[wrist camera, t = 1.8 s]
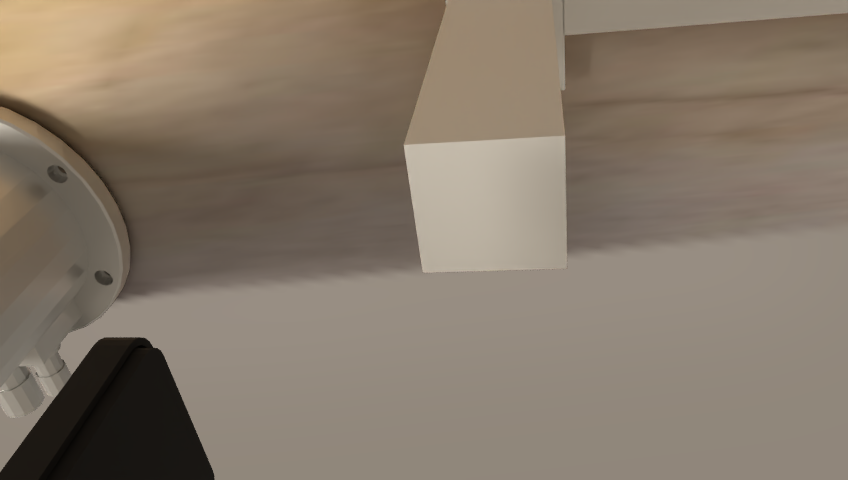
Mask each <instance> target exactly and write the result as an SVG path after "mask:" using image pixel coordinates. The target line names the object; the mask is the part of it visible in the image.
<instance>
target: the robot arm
mask: <svg viewBox="0 0 848 480" xmlns="http://www.w3.org/2000/svg"><path fill="white" fill-rule="evenodd" d="M129 269H130V244H129V239H128V233H127V228H126V225H125V223H124V221H123V218H122V216H121V213H120V211H119V208H118V206H117V204H116V202H115V201H114V199H113V197H112V196H111V194H110V193H109V191H108V189H107V188H106V186H105V185H104V183H103V182H102V180H101V179H100V178H99V177H98V176H97V175H96V173H95V172H94V171H93V170H92V169H91V167H90V166H89V165H88V164H87V163H86V162H85V160H84V159H82V158H81V157H80V156H79V155H78V154H77V153H76V152H75V151H73V150H72V149H71V148H70V147H69V146H68V145H67V144H66V143H64V142H63V141H62V140H61V139H59V138H58V137H56V136H55V135H54V134H52V133H51V132H49V131H48V130H46V129H45V128H43V127H42V126H40V125H39V124H37V123H36V122H34V121H32V120H30V119H28V118H26V117H24V116H22V115H20V114H18V113H16V112H14V111H12V110H10V109H7V108H4V107H1V106H0V406H1V407H2V409H3V411H4V412H5V414H6V415H7V416H8V417H13V418H18V417H21V416H26V415H27V414H29V413H31V412H33V411H35V410H36V409H37V408H38V407H39V406H40V405H41V404H42V402H43V400H44V398H45V397H44V394H43V391H42V390H41V388H40V386H39V384H38V383H37V381H36V379H35V377H34V375H33V374H32V372H31V370H30V368H28V367H26V366H33V367H34V369H35V370H36V375H37V377H38V379H39V381H40V382H41V384H42V386H43V388H44V389H45V391H46V393H47V395H49V396H52V397H54V396H56V397H55V399H54V400H53V401H52V403H51V404H50V405H49V407H48V408H47V410H46V411H45V412H44V414H43V415H42V416H41V418H40V419H39V420H38V422H37V423H36V425H35V426H34V427H33V429H32V430H31V431H30V433H29V434H28V435H27V437H26V438H25V439H24V441H23V442H22V444H21V445H20V446H19V448H18V449H17V450H16V452H15V453H14V454H13V456H12V457H11V458H10V460H9V461H8V462H7V464H6V465H5V467H4V468H3V469H2V471H1V472H0V480H214V473H213V470H212V468H211V465H210V463H209V461H208V458H207V456H206V454H205V452H204V449H203V447H202V444H201V442H200V440H199V437H198V435H197V433H196V430H195V428H194V425H193V423H192V421H191V418H190V416H189V414H188V411H187V409H186V407H185V405H184V402H183V400H182V397H181V395H180V393H179V390H178V388H177V386H176V383H175V381H174V379H173V376H172V374H171V372H170V369H169V367H168V365H167V362H166V360H165V357H164V355H163V354H162V352H161V351H160V350H159V349H158V348H153V346H152V345H151V343H150V342H149V341H148V340H147V339H145V338H103V339H100V340H99V341H98V342H97V343H96V344H95V345H94V346H93V347H92V349H91V350H90V351H89V353H88V354H87V355H86V357H85V358H84V359H83V361H82V362H81V364H80V365H79V366H78V368H77V369H76V371H75V372H74V373H73V374H72V375H71V373H70V371H69V369H68V367H67V365H66V364H65V362H64V360H62V359H61V357H60V355H59V353H58V350H59V349H60V343H61V342H62V340H63V339H64V338H65V337H66V335H67V334H68V333H69V332H72V331H75V330H78V329H80V328H83V327H86V326H88V325H89V324H91V323H92V322H94V321H95V320H97V319H98V318H100V317H101V316H102V315H103V314H104V313H105V312H106V311H107V310H108V308H109V307H110V306H111V305H112V304H113V302H114V301H115V300H116V298H117V296H118V295H119V293H120V292H121V290H122V289H123V287H124V286H125V282H126V279H127V276H128V273H129Z"/></svg>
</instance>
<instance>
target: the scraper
mask: <svg viewBox="0 0 848 480" xmlns="http://www.w3.org/2000/svg"><path fill="white" fill-rule="evenodd" d="M445 2H446V9H445V12H444V15H443V19H442V22H441V25H440V28H439V32H438V35H437V38H436V41H435V45H434V48H433V51H432V54H431V58H430V61H429V64H428V67H427V71H426V74H425V77H424V80H423V84H422V87H421V90H420V93H419V97H418V100H417V103H416V106H415V110H414V113H413V116H412V119H411V123H410V126H409V129H408V132H407V136H406V139H405V142H404V151H405V158H406V164H407V171H408V178H409V184H410V191H411V198H412V205H413V211H414V218H415V225H416V231H417V238H418V245H419V252H420V258H421V265H422V272H423V273H435V272H436V273H438V272H472V271H506V270H507V271H508V270H541V269H542V270H544V269H567V218H566V153H565V128H564V118H563V108H562V98H561V90H565V35H577V34H590V33H603V32H615V31H628V30H641V29H653V28H666V27H679V26H691V25H704V24H716V23H729V22H742V21H754V20H767V19H780V18H792V17H805V16H818V15H830V14H843V13H848V0H445Z"/></svg>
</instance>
